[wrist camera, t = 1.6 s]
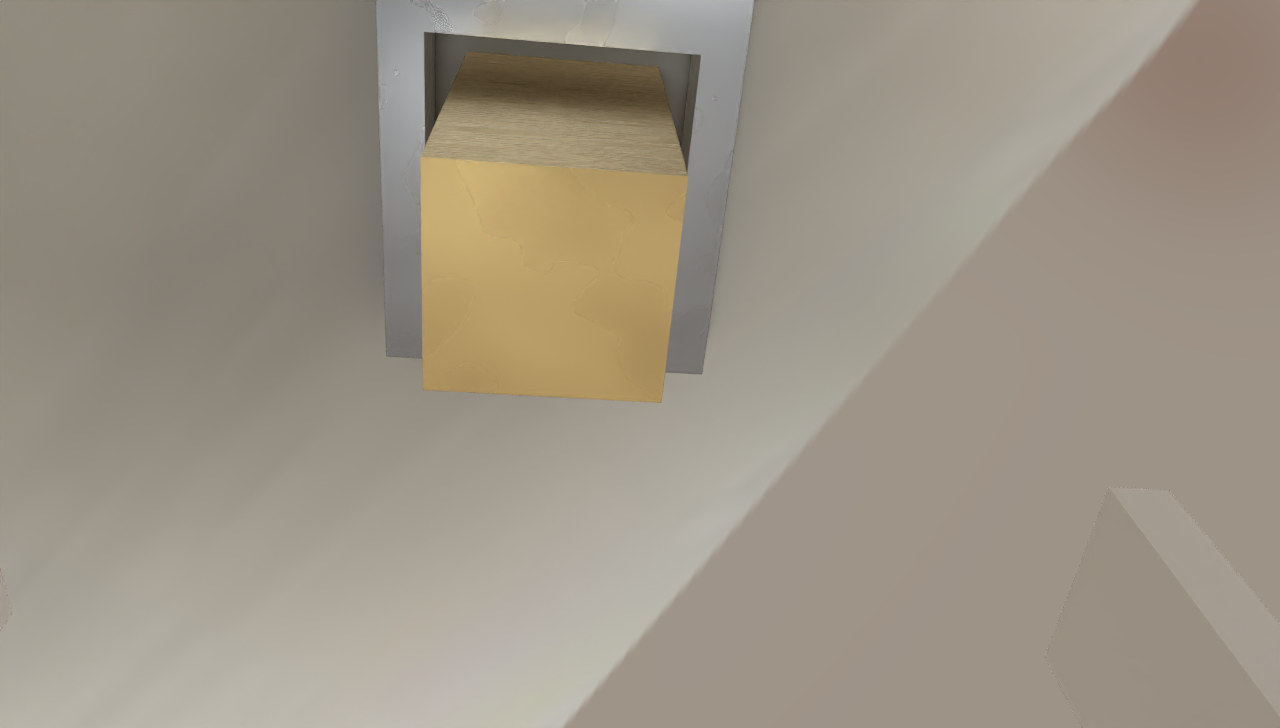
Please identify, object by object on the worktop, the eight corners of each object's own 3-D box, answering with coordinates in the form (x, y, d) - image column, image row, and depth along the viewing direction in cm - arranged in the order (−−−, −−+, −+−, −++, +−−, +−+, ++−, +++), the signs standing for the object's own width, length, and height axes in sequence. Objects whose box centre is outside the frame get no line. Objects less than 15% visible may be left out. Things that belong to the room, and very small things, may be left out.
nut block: (465, 231, 26) (422, 389, 19) (467, 51, 24) (420, 156, 17) (640, 242, 27) (661, 402, 20) (658, 67, 25) (688, 176, 18)
